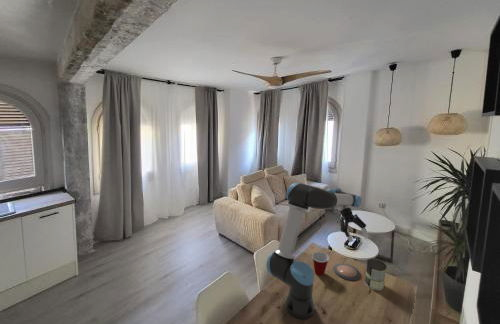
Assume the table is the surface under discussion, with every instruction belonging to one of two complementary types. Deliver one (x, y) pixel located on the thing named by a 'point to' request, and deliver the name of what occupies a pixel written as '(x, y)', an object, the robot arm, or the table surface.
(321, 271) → the plastic cup
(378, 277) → the coffee can
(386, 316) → the table surface
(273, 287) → the table surface
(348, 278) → the round plate
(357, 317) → the table surface
